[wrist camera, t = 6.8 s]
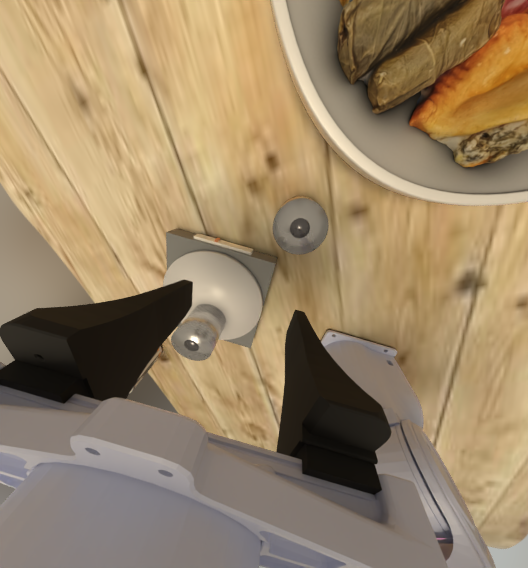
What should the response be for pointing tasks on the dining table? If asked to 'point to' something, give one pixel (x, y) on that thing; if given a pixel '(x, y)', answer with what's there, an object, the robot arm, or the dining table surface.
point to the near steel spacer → (300, 225)
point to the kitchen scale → (221, 279)
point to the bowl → (417, 91)
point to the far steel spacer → (199, 332)
